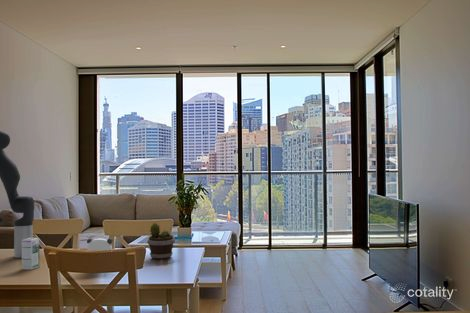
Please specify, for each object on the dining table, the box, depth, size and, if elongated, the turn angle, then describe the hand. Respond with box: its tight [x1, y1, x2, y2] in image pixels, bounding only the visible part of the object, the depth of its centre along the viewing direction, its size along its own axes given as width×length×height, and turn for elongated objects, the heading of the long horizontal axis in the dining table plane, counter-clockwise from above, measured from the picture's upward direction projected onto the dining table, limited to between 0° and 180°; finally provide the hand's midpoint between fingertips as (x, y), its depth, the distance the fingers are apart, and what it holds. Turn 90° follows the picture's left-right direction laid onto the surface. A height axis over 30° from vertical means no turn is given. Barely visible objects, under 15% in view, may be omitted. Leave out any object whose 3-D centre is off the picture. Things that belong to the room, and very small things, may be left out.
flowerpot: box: [146, 221, 176, 261], centre depth 233 cm, size 14×15×20 cm
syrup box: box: [21, 237, 40, 271], centre depth 212 cm, size 6×6×14 cm
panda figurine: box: [86, 237, 114, 251], centre depth 208 cm, size 12×11×15 cm
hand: (1, 221), depth 205 cm, fingers closed
